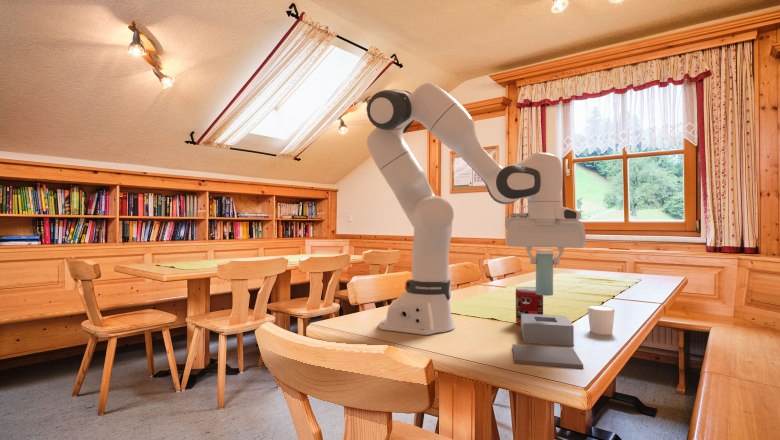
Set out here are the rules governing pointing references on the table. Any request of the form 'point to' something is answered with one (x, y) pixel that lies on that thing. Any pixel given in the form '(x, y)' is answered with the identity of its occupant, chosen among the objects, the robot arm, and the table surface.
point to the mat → (546, 356)
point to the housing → (547, 329)
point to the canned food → (528, 302)
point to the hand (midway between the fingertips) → (544, 264)
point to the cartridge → (544, 272)
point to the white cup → (601, 319)
